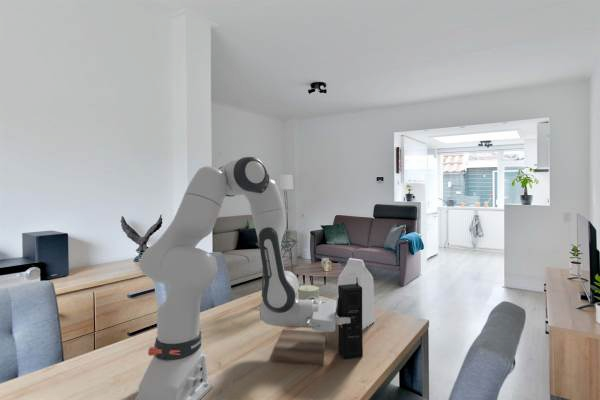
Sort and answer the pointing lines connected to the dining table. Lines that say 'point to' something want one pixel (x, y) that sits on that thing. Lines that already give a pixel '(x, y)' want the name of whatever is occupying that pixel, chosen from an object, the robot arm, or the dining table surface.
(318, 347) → the walnut plinth
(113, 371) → the dining table surface
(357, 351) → the portable radio
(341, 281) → the milk
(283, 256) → the geometric lantern
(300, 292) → the can
